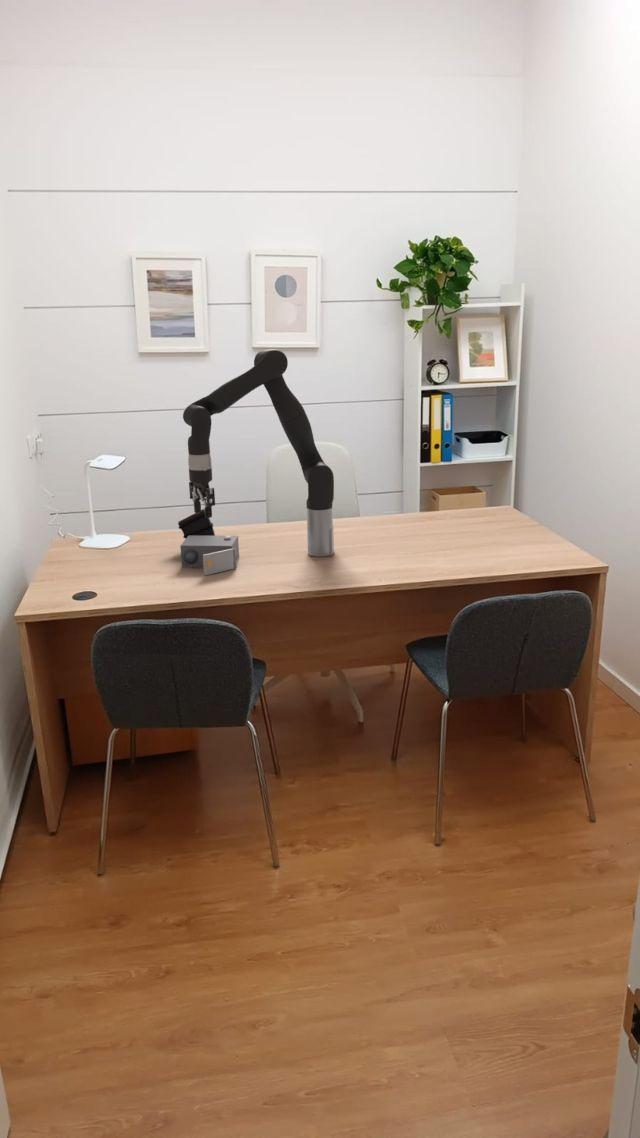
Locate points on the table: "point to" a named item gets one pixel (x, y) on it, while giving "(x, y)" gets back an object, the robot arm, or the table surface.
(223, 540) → the camera box
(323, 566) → the table surface
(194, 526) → the black piece
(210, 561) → the side door
